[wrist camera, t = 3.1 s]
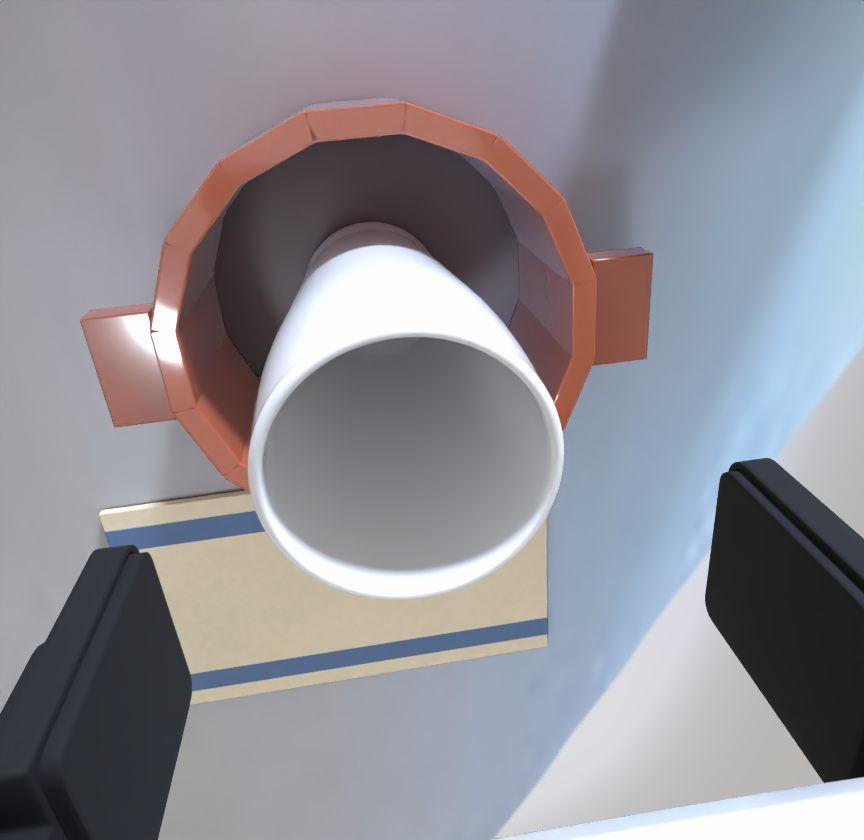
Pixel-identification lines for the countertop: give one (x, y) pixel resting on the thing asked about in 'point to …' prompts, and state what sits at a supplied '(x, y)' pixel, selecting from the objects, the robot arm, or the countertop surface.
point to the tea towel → (311, 604)
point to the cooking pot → (235, 381)
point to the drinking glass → (398, 425)
